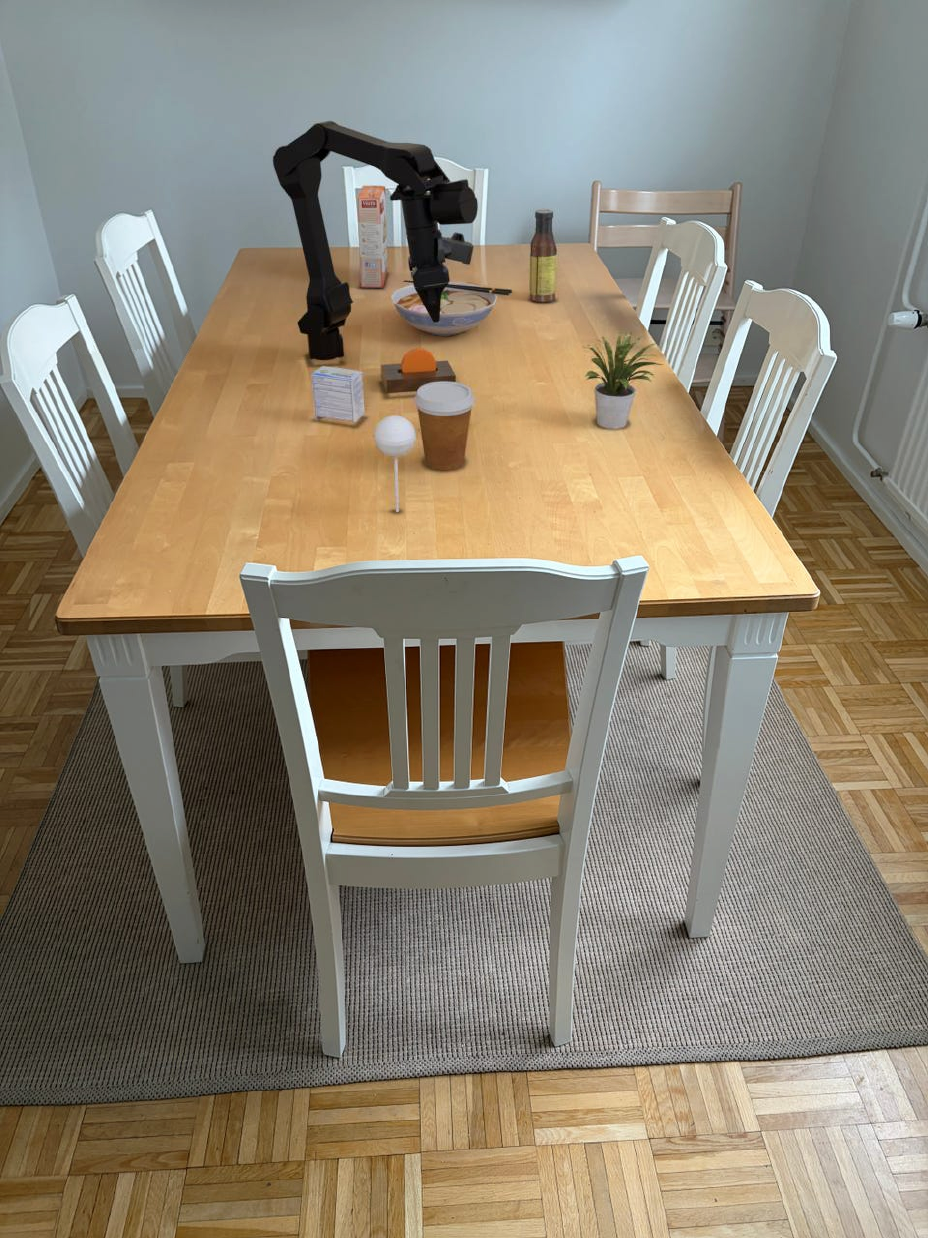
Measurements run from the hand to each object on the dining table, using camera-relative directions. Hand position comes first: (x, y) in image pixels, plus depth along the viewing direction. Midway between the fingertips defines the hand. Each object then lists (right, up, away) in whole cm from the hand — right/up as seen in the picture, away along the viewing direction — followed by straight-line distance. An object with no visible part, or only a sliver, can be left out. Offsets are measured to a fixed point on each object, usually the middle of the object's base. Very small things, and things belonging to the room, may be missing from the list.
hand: (434, 316), depth 174 cm
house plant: (+31, -21, -6) cm, 38 cm away
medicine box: (-17, -20, -5) cm, 27 cm away
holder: (-3, -11, +7) cm, 14 cm away
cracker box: (-17, +29, +64) cm, 72 cm away
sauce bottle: (+24, +21, +52) cm, 61 cm away
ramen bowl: (+1, +7, +33) cm, 34 cm away
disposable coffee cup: (+2, -30, -19) cm, 35 cm away
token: (-3, -11, +6) cm, 13 cm away
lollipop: (-5, -39, -32) cm, 51 cm away
